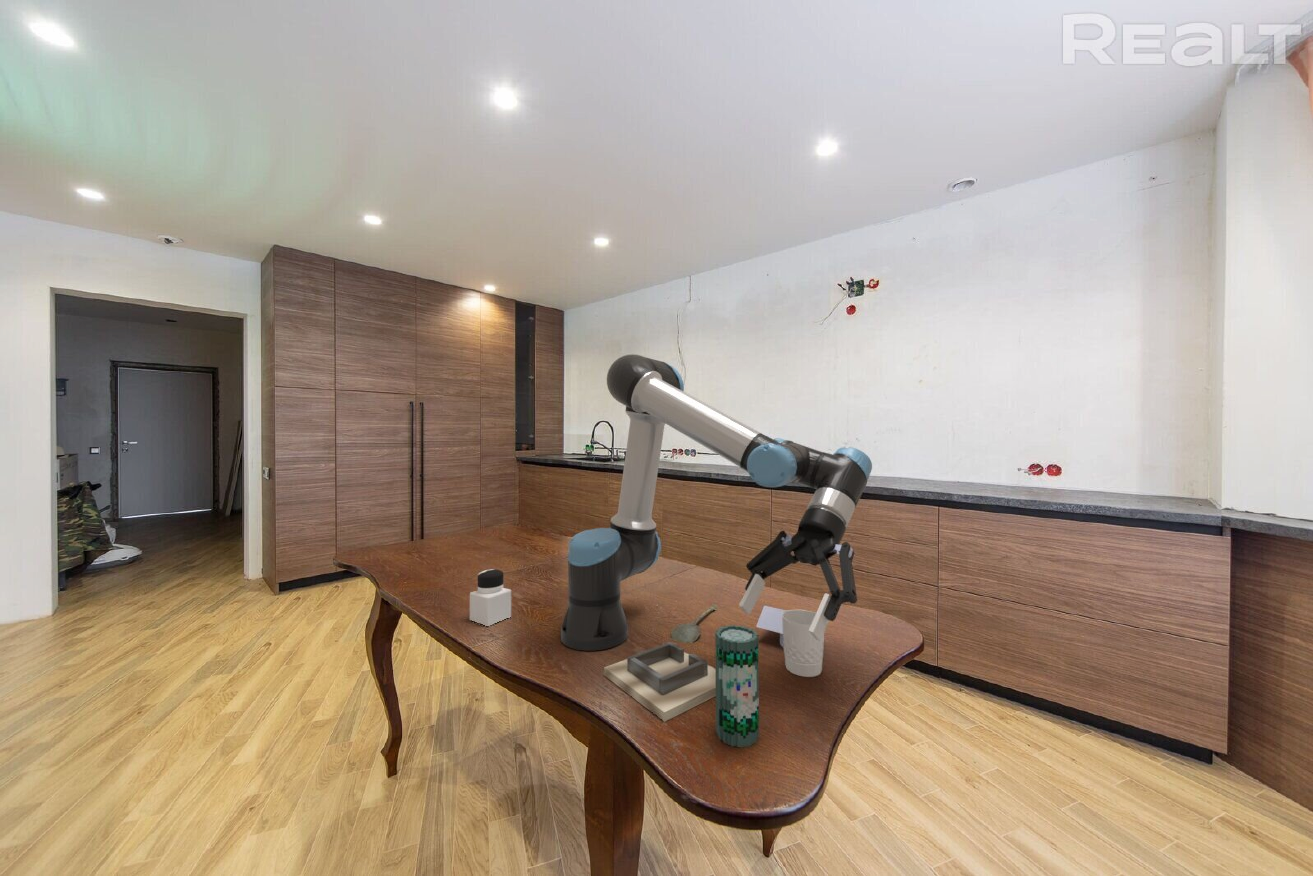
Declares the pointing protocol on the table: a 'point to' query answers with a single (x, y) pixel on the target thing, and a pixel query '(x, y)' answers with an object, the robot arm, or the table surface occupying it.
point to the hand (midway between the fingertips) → (776, 622)
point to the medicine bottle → (490, 599)
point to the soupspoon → (689, 630)
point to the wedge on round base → (772, 621)
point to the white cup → (801, 644)
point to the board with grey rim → (665, 679)
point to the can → (737, 685)
